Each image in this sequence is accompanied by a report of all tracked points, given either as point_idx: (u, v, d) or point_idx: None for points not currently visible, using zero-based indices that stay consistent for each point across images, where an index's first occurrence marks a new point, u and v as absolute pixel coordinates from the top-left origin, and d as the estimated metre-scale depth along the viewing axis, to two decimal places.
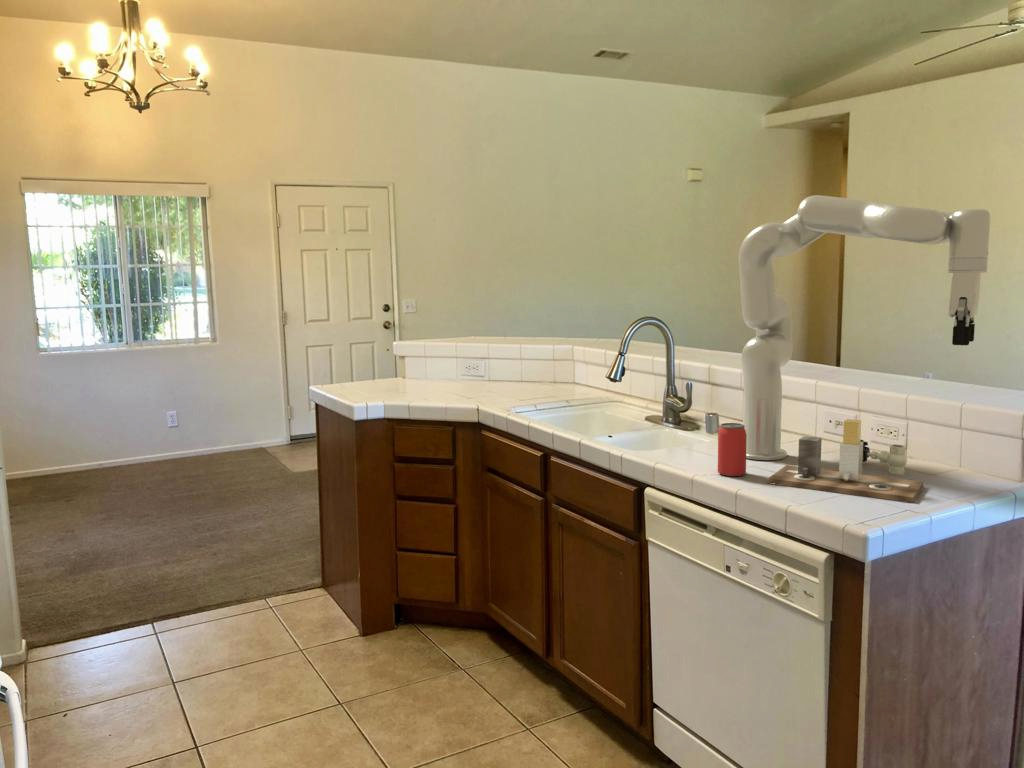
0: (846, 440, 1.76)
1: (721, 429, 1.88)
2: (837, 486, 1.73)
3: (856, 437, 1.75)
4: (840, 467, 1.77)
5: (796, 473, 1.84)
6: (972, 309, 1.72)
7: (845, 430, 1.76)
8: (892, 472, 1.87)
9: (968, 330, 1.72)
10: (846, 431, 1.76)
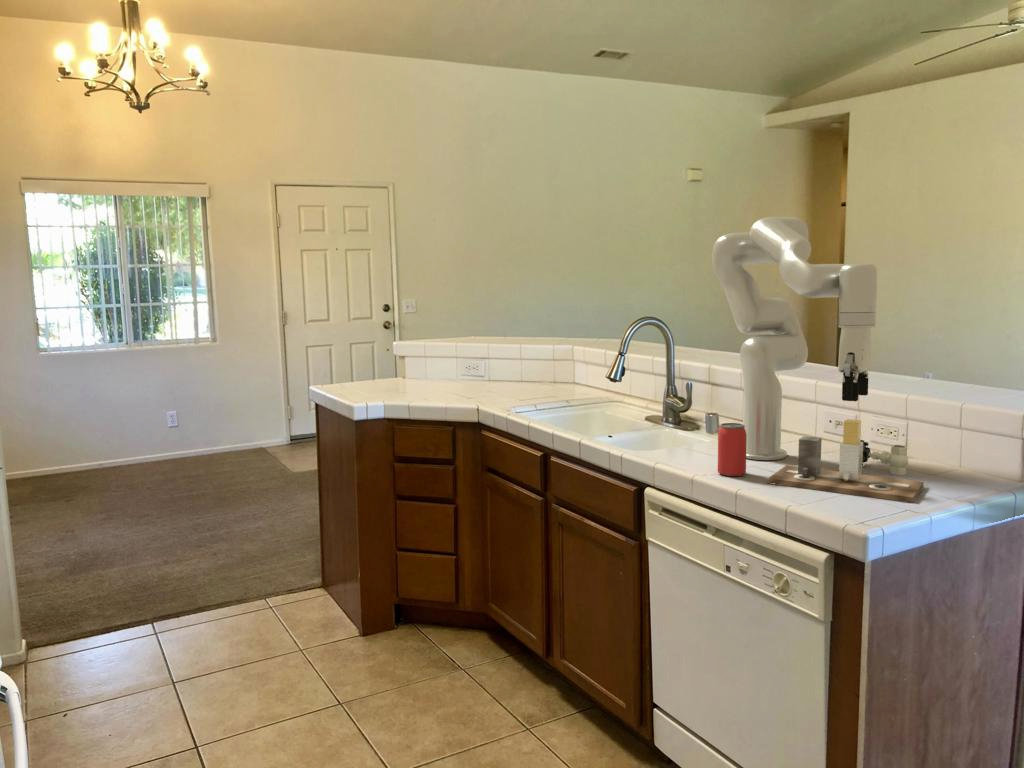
0: (846, 440, 1.76)
1: (721, 429, 1.88)
2: (837, 486, 1.73)
3: (856, 437, 1.75)
4: (840, 467, 1.77)
5: (796, 473, 1.84)
6: (860, 365, 1.70)
7: (845, 430, 1.76)
8: (893, 472, 1.87)
9: (857, 386, 1.70)
10: (846, 431, 1.76)
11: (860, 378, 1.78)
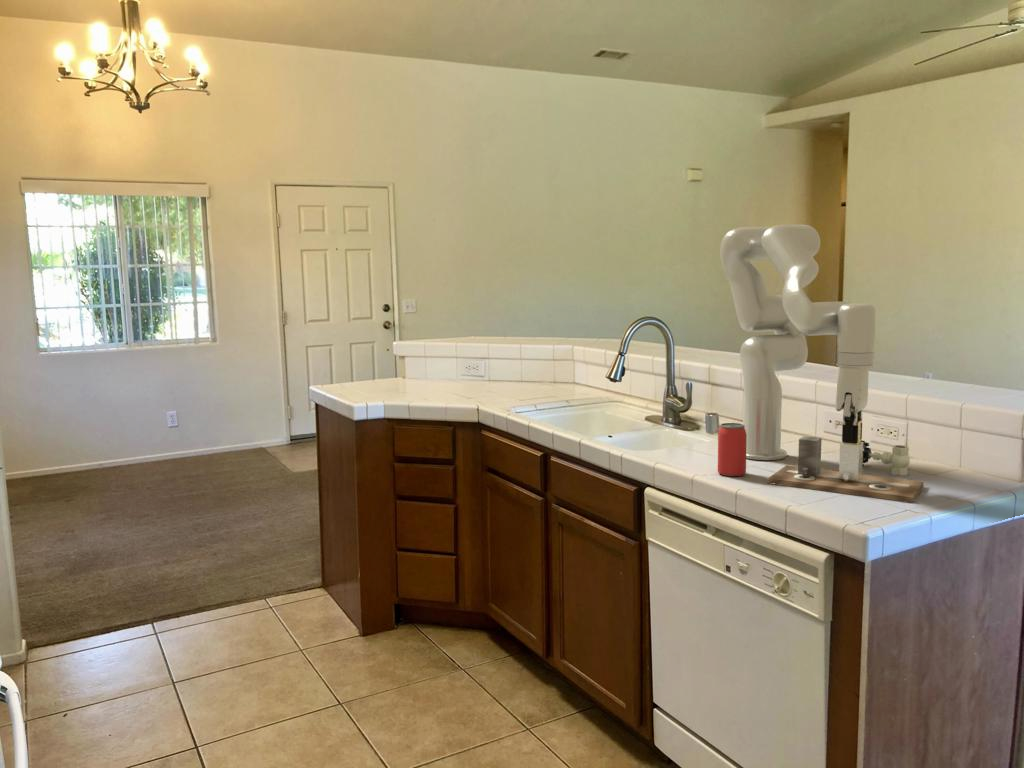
0: None
1: (721, 429, 1.88)
2: (837, 486, 1.73)
3: None
4: (840, 467, 1.77)
5: (796, 473, 1.84)
6: (857, 405, 1.71)
7: None
8: (895, 473, 1.86)
9: (856, 429, 1.74)
10: None
11: None
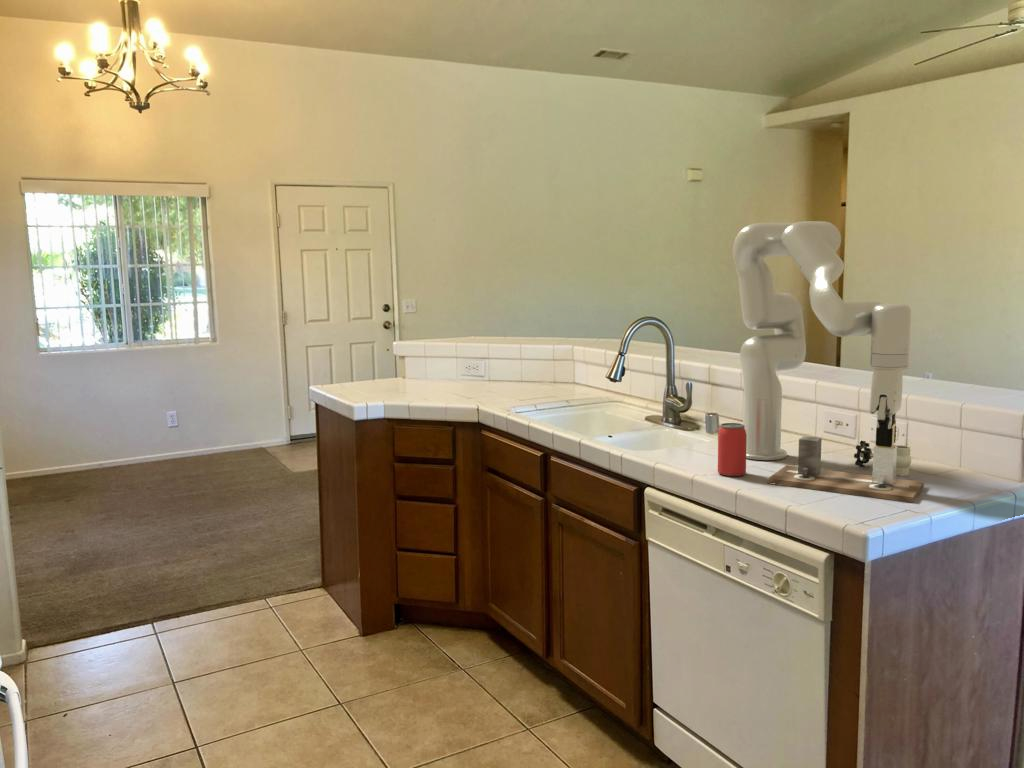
0: None
1: (721, 429, 1.88)
2: (837, 486, 1.73)
3: None
4: (873, 471, 1.73)
5: (796, 473, 1.84)
6: (892, 407, 1.67)
7: None
8: (896, 473, 1.86)
9: (891, 432, 1.70)
10: None
11: None
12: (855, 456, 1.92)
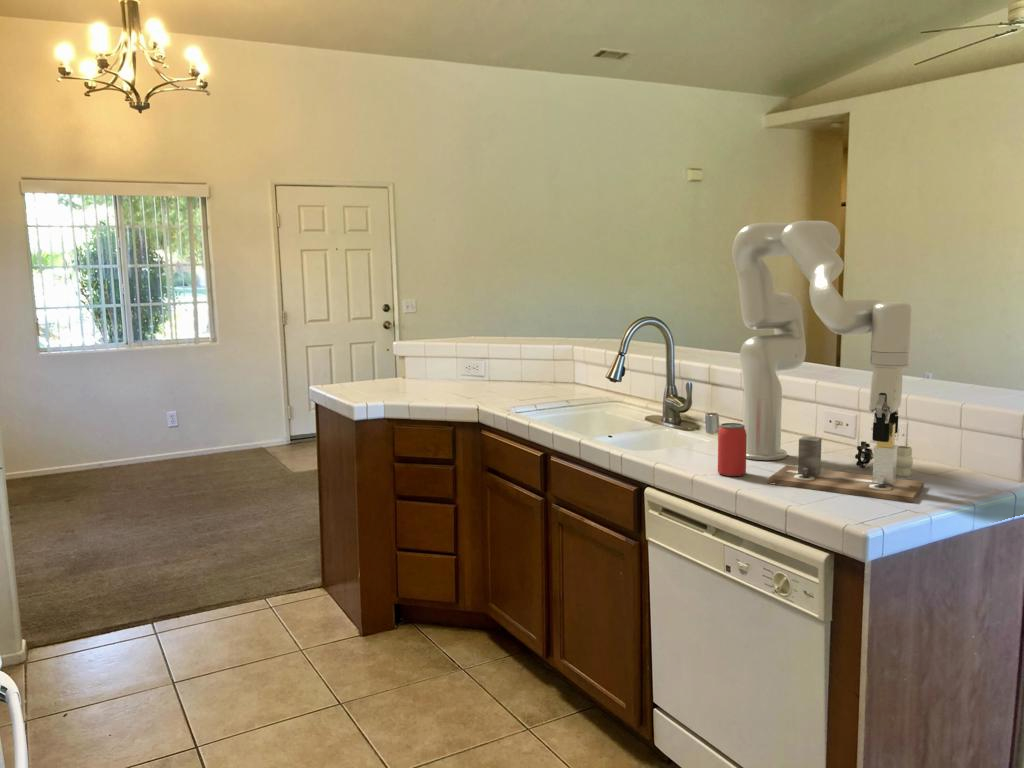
0: (880, 444, 1.72)
1: (721, 429, 1.88)
2: (837, 486, 1.73)
3: (890, 440, 1.71)
4: (874, 471, 1.73)
5: (796, 473, 1.84)
6: (892, 406, 1.67)
7: None
8: (898, 474, 1.86)
9: (888, 427, 1.68)
10: None
11: (890, 416, 1.76)
12: (856, 457, 1.91)
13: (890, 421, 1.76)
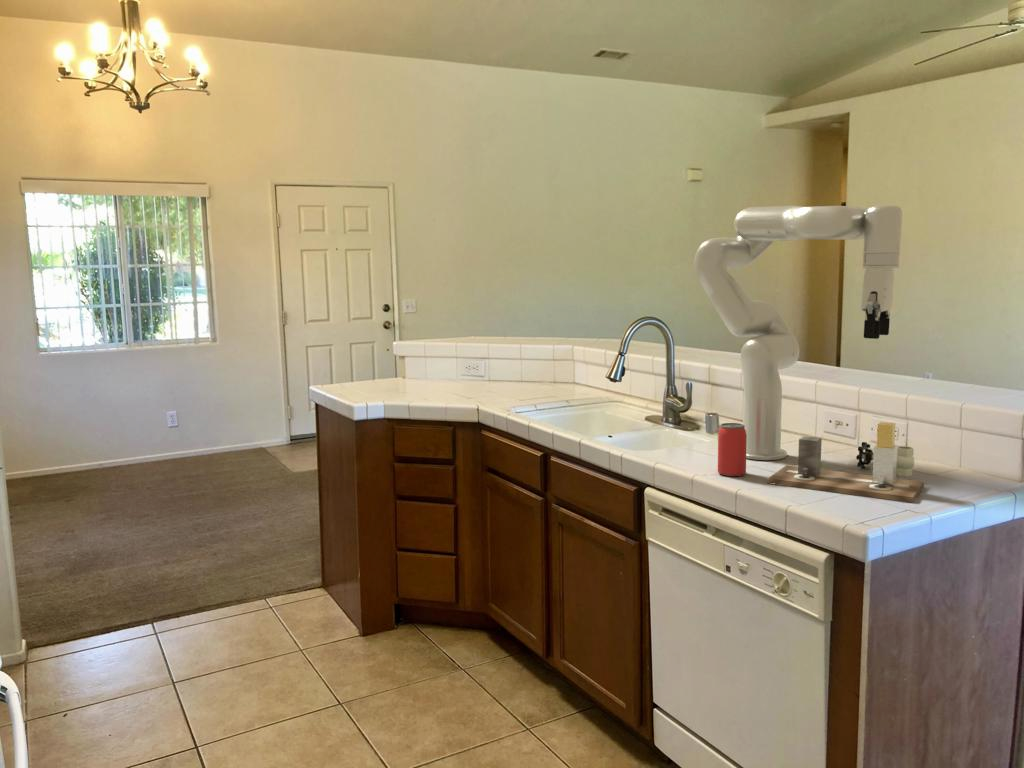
0: (880, 444, 1.72)
1: (721, 429, 1.88)
2: (837, 486, 1.73)
3: (890, 440, 1.71)
4: (874, 471, 1.73)
5: (796, 473, 1.84)
6: (882, 303, 1.76)
7: (879, 433, 1.72)
8: (900, 474, 1.85)
9: (878, 324, 1.77)
10: (880, 434, 1.72)
11: (882, 318, 1.85)
12: (857, 458, 1.90)
13: (882, 323, 1.85)
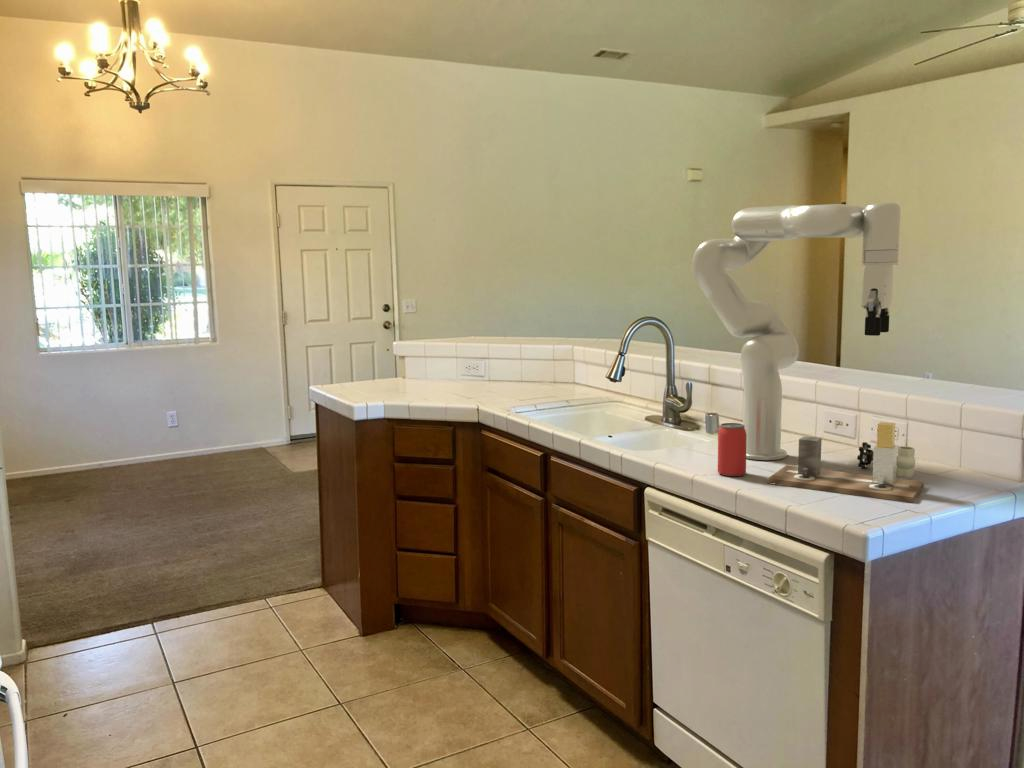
0: (880, 444, 1.72)
1: (721, 429, 1.88)
2: (837, 486, 1.73)
3: (890, 440, 1.71)
4: (874, 471, 1.73)
5: (796, 473, 1.84)
6: (882, 300, 1.76)
7: (879, 433, 1.72)
8: (901, 474, 1.85)
9: (879, 321, 1.77)
10: (880, 434, 1.72)
11: (881, 315, 1.85)
12: (858, 458, 1.90)
13: (881, 320, 1.86)
